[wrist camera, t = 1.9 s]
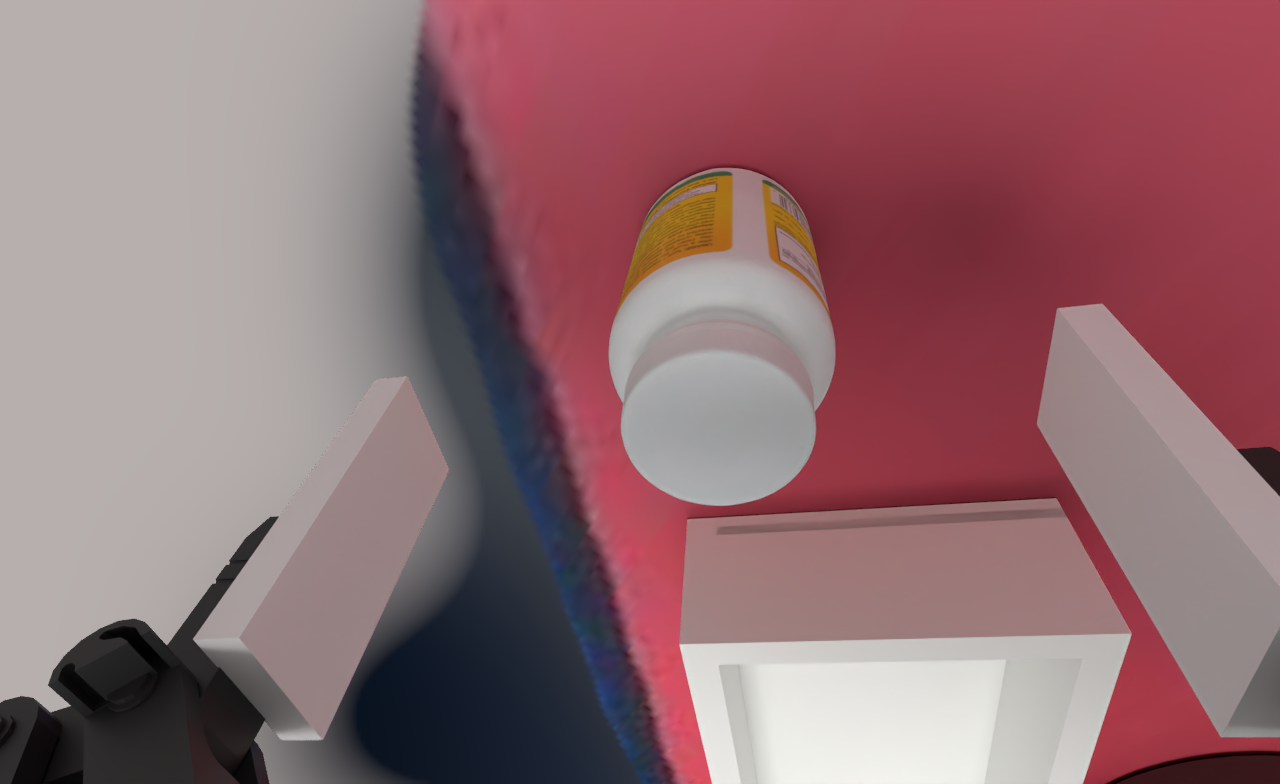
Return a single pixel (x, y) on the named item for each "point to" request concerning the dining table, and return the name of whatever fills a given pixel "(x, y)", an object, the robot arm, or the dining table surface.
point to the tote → (898, 645)
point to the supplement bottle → (722, 340)
